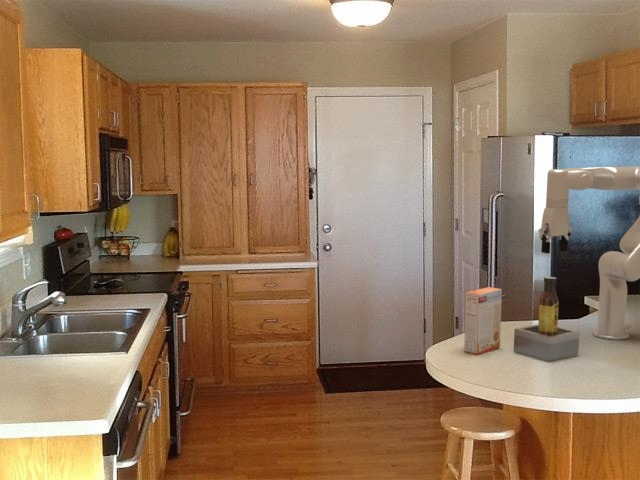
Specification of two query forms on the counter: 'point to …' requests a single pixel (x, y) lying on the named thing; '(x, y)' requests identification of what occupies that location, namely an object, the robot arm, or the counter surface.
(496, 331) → the cracker box
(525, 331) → the grey square tray
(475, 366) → the counter surface
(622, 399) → the counter surface
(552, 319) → the sauce bottle
